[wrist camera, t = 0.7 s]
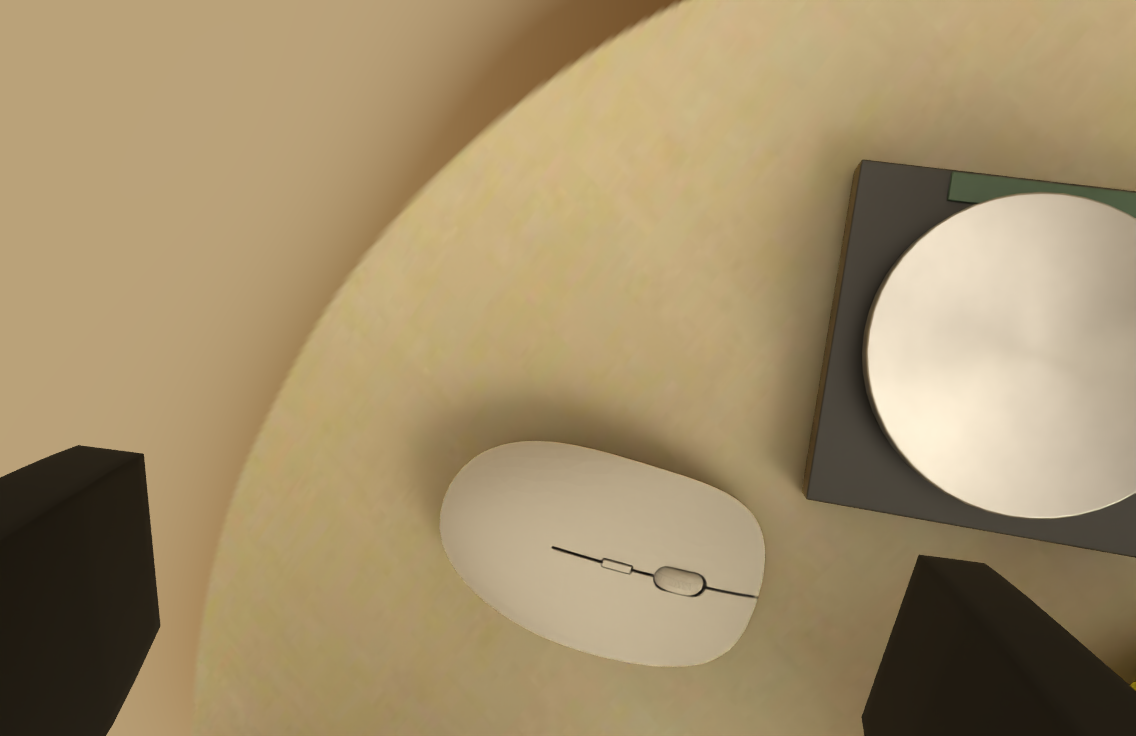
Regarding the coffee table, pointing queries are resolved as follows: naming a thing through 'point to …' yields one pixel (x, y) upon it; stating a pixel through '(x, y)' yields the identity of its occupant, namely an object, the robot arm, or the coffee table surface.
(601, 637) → the computer mouse
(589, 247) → the coffee table surface
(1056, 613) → the coffee table surface
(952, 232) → the scale pan
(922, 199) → the scale
